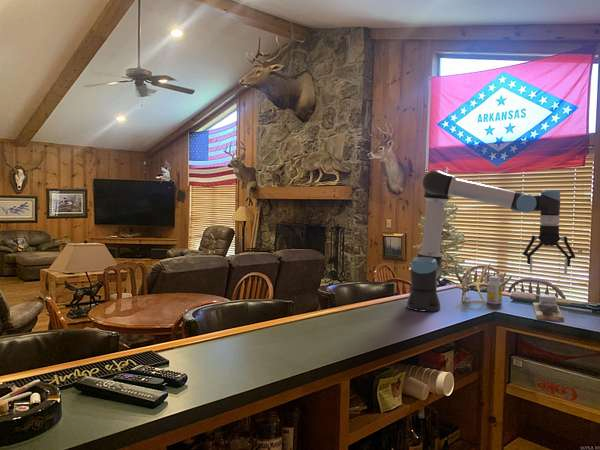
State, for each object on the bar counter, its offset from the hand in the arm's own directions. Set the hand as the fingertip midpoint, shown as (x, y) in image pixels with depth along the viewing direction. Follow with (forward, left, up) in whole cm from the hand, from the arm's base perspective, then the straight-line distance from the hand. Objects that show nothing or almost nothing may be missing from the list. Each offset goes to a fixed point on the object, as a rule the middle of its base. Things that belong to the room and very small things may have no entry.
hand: (547, 272), depth 201 cm
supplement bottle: (-22, +12, -18) cm, 31 cm away
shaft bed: (0, 0, -18) cm, 18 cm away
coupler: (0, 0, -16) cm, 16 cm away
